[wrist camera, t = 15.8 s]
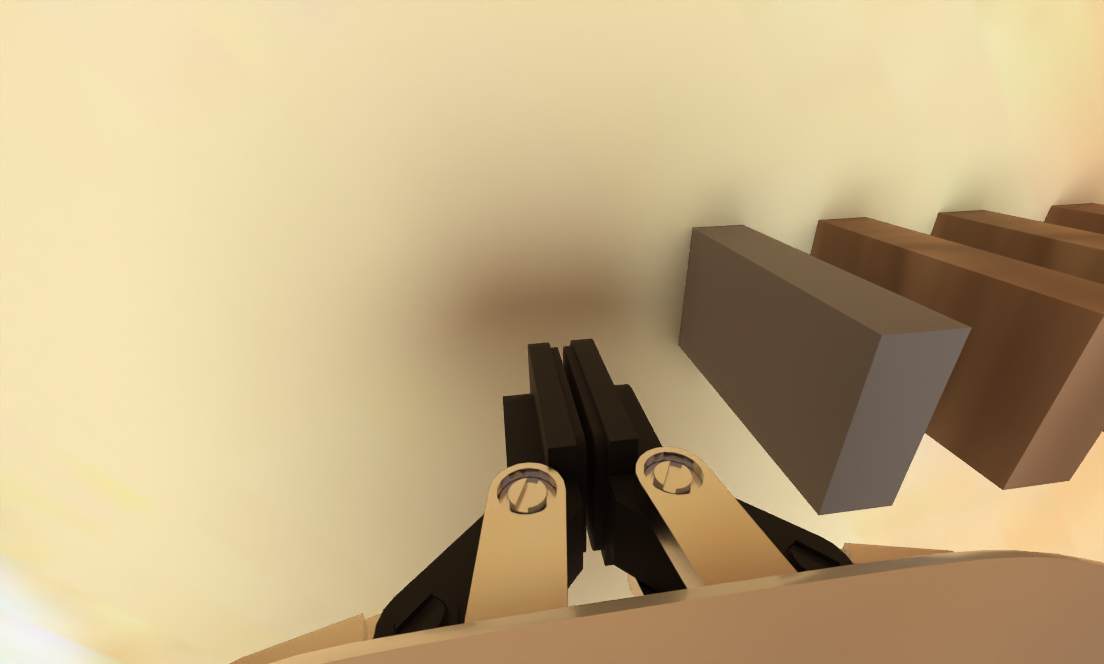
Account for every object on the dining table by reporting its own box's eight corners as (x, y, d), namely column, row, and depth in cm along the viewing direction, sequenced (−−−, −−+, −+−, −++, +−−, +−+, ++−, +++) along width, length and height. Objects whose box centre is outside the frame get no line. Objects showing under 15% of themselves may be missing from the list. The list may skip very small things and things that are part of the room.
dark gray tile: (678, 344, 19) (818, 515, 11) (692, 227, 17) (881, 335, 9) (722, 341, 19) (892, 505, 11) (743, 224, 17) (971, 328, 9)
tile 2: (791, 334, 20) (1002, 489, 12) (818, 220, 17) (1104, 314, 9) (833, 331, 20) (1069, 480, 12) (865, 217, 18) (1184, 307, 10)
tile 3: (898, 325, 20) (1170, 466, 12) (938, 212, 18) (1304, 296, 10) (938, 321, 20) (1231, 458, 12) (983, 210, 18) (1376, 290, 10)
